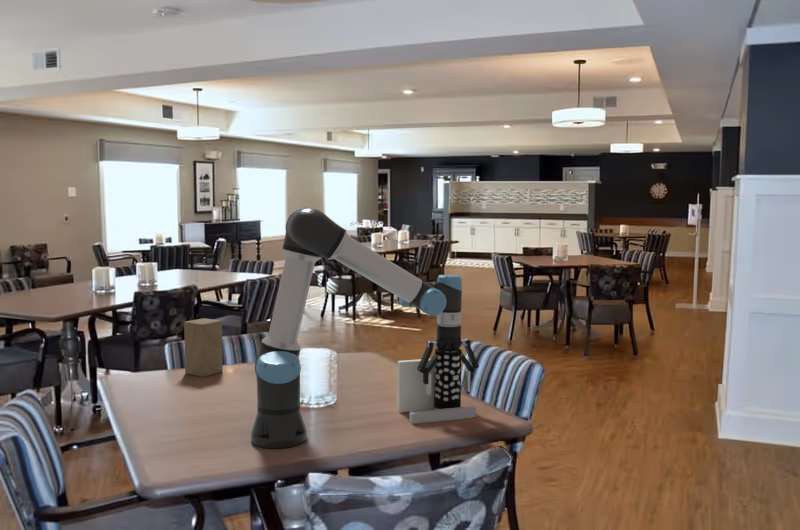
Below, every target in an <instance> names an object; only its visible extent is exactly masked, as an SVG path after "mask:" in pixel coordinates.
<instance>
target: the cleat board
mask: <svg viewBox="0 0 800 530" xmlns="http://www.w3.org/2000/svg"><path fill="white" fill-rule="evenodd" d="M421 359H422V358H421ZM421 359H409V360H407V359H406V360H397V373H396V374H397V376H396V377H397V382H396V383H397V385H396V387H397V388H396V389H397V392H396V393H397V394H396V412H398V413H407V412H409V415H408V417H409V418H408V420H409V423H410V424H411V425H414V424H423V423H432V422H433V423H435V422H444V420H445V421H454V419H455V420H464V418H465V419H473V418H472V417H475V418H477V414H476V413H477V407H475V406H474V405H469V406H461V407H458V408H447V409H437V410H434V383H435V365H434V367H433V368H432V370H431V371H430V372H429V373H430V374H431V395H428V394H427V393H426V384H424V383H423V373H421V372H419V371H418V370H417V368H418V366H419V364H420V361H421ZM430 359H431V358H429V360H428V362H429V361H430ZM428 362H427V363H428Z"/></svg>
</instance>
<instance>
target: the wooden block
mask: <svg viewBox="0 0 800 530" xmlns="http://www.w3.org/2000/svg"><path fill="white" fill-rule="evenodd" d="M183 325H184V327H183V328H184V329H183V331H184V332H183V335H184V370H185V371H184V372H185V374H187V375H190V376H194V377H195V376H197V377H202V378H205V377H208V376H212V375H216V374H220V373H223V370H224V369H223V367H224V365H223V361H224V360H223V321H222V320H219V319H212V318H211V319H210V318H205V317H203V318H199V319H193V320H186V321H184V323H183Z"/></svg>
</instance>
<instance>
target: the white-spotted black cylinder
mask: <svg viewBox="0 0 800 530" xmlns="http://www.w3.org/2000/svg"><path fill="white" fill-rule="evenodd" d="M437 349H438V348H437V347H436V348H434V354H436V355H438V361H437V363H436V364H435V383H434V409H433V410H437V409H447V408H458V407H462V406H461V405H462V403H461V402H462V400H461V399H462V364H463V362H462V354H463V350H462V349H461V348H459V349H460V350H461V351H446V352H440V350H437Z"/></svg>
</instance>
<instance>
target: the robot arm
mask: <svg viewBox="0 0 800 530" xmlns="http://www.w3.org/2000/svg"><path fill="white" fill-rule="evenodd" d="M348 234H349V233H348V230H347V229H345V228H344V227H342V226H340V225H339V224H338V223H336V222H335V221H334V220H333V219H331V218H330V217H329V216H327V215H326V213H324V212H323V211H321V210H319V209H316V208H313V207H301V208H298V209H296V210H295V211H293V212H292V213H291V214H290V215H289V216H288V218H287V220H286V223H285V235H284V241H283V244H282V251H283V253H284V254H285V260H284V264H283V268H282V272H281V276H280V277H281V278H280V282H279V286H278V291H277V296H276V299H275V304H274V309H273V314H272V318H271V322H270V327H269V331H268V334H267V336H265V337H264V338H262V339H261V342H260V343H261V344H260V346H259V352H258V354H257V356H256V358H255V361H254V373H255V377H256V397H257V398H256V400H257V402H256V403H257V409H256V410H257V411H256V413H257V414H256V417H255V419H254V423H253V425H252V429H251V432H250V435H251V436H250V441H251V443H252V444H253V445H255V446H257V447H259V448H260V447H261V448H265V449H285V448H286V449H287V448H291V447H296V446H299V445H301V444H303V443H304V442H306V440H307V438H308V437H307V434H308V433H307V431H308V430H307V427H306V425H305V421H304V418H303V415H302V412H301V369H302V367H301V364H300V361H301V360H300V358H299V357H300V353H301V350H302V347H301V345H300V343H298V339H299V335H300V330H301V326H302V321H303V317H304V313H305V308H306V303H307V299H308V295H309V291H310V285H311V281H312V277H313V274H314V273H313V272H314V268H315V264H316V262H318V261H319V260H322V257H323V258H325V259H326V260H328V261H329V260H335V261H337V262H339V263H340V264H342V265H343V266H345V267H347V268H349V269H350V270H352V271H353V272H355V273H357V274H359V275H361V276H362V277H364V278H365V279H368V280H369V281H371V282H372V283H374V284H376V285H377V286H379V287H381V288H383V289H384V290H386V291H387V292H389V293H391V294H393V295H394V296H397V297H398V300H399V301H398V302H399V304H400V306H401V307H403V308H416V309H418V310H419V311H421V312H423V313H424V314H425V315H428V316H436V323H437V324H438V325H437V326H436V341H431V340H427V342H426V348H425V351H424V352H423V354H422V357H421V361H420V364H419V366H418V368H417V370H418V371H419V372H421V373H423V383H424V384H426V393H427V394H428V395H431V374H430V373H429V372H430V371H431V370H432V368H433V367H434V365H435V364H436V363H437V361H438V355H436V354H435V353H433V350H435V347H436V349H437V348H438V349H437V350H440V352H446V351H461V350H462V349H461V346H463V347H464V349H465V352H466V354H467V356H468V358H469V360H470V361H469V360H468V359H467V358H466V356H465V355H464V354H463V353H462V364H463V365H464V366H465V367H466V369H464V379H463V380H464V384H463V385H464V386H463V387H464V391H465V392H468V393H469V392H471V381H473V376H474V371H475V369H479V367H480V366H479V363H478V360H477V358H476V356H475V354H474V351H473V349H472V346H471V340H470V339H468V338H466V337H464V339H461V337H462V326H461V324H462V297H463V282H462V281H463V280H462V276H460V275H458V274H457V275H456V274H438V277H437V279H436V281H427V282H426V281H424V280H422V279H420V278H419V277H417V276H416V275H413V274H412V273H410V272H409V271H408V270H406V269H404V268H403V267H400V266H399V265H398V264H396V263H394V262H393V261H391V260H389V259H387V258H386V257H384V256H383V255H381V254H380V253H378V252H376V251H375V250H373V249H371V248H370V247H368V246H367V245H364V244H363V243H361V242H359V241H358V240H357V239H355V238H353V237H352V236H350V235H348ZM460 349H461V350H460ZM432 353H433V355H432ZM431 355H432V357H431ZM430 357H431V358H430ZM429 359H430V361H429V362H428V360H429ZM427 362H428V363H427Z"/></svg>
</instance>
